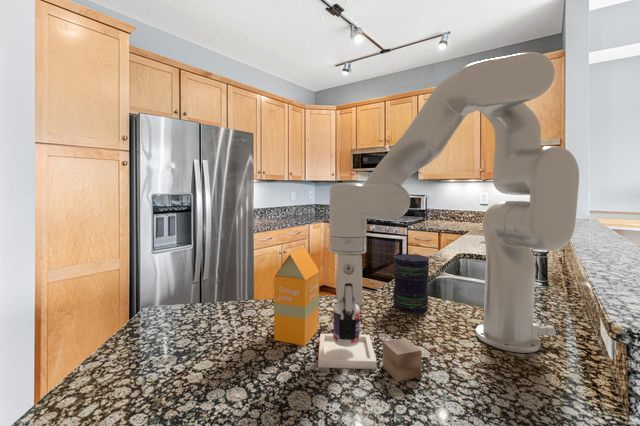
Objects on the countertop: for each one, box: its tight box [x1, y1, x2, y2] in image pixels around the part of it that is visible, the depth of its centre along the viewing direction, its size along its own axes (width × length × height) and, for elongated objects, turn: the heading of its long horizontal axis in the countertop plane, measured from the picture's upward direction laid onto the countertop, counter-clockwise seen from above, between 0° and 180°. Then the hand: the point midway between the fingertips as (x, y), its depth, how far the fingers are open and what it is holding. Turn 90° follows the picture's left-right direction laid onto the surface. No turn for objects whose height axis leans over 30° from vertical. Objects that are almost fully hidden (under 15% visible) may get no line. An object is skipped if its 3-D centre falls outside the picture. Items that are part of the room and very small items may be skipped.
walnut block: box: [382, 337, 423, 383], centre depth 56 cm, size 5×5×5 cm
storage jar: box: [392, 253, 430, 315], centre depth 89 cm, size 10×10×15 cm
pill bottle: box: [332, 300, 361, 347], centre depth 62 cm, size 5×5×10 cm
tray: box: [317, 333, 378, 370], centre depth 63 cm, size 11×11×2 cm
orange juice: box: [273, 247, 320, 347], centre depth 71 cm, size 8×9×20 cm
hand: (346, 330), depth 63 cm, fingers closed on pill bottle, 5 cm apart
